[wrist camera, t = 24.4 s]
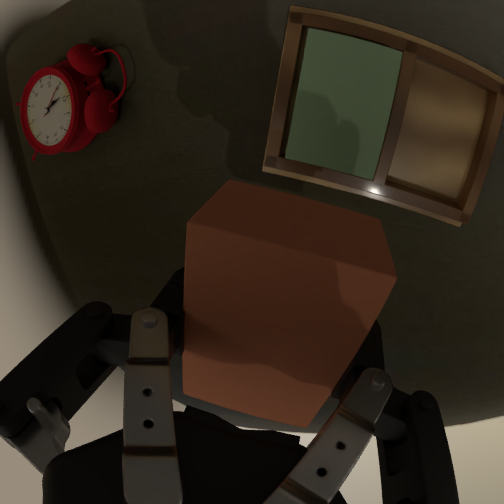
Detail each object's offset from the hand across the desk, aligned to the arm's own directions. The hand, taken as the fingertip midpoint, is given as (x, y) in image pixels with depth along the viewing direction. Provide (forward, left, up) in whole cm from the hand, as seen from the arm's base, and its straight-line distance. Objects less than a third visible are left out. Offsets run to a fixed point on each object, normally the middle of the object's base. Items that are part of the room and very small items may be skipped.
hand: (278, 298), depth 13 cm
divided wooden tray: (-8, +5, -15) cm, 17 cm away
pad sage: (-8, +1, -14) cm, 16 cm away
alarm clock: (-6, -24, -15) cm, 28 cm away
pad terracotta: (0, 0, -1) cm, 1 cm away
